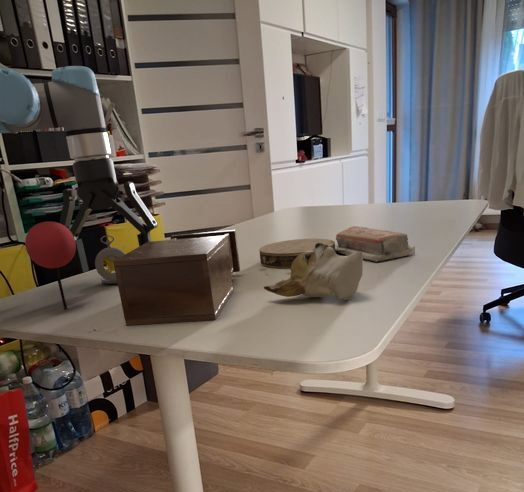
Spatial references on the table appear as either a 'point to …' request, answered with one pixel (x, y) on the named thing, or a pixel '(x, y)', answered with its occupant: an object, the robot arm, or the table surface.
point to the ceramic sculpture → (322, 274)
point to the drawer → (230, 241)
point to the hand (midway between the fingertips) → (115, 269)
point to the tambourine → (288, 251)
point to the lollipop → (51, 247)
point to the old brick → (373, 243)
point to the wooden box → (175, 280)
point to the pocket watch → (108, 255)
